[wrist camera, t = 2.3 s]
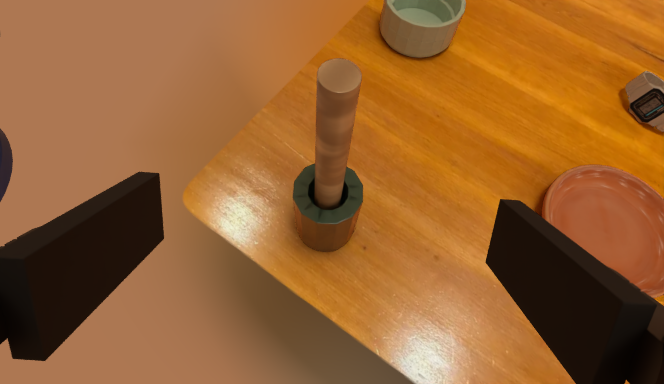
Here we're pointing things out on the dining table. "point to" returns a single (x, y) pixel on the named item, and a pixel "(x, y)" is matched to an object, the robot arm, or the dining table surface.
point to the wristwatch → (647, 99)
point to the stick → (334, 128)
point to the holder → (326, 212)
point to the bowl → (420, 25)
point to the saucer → (612, 221)
